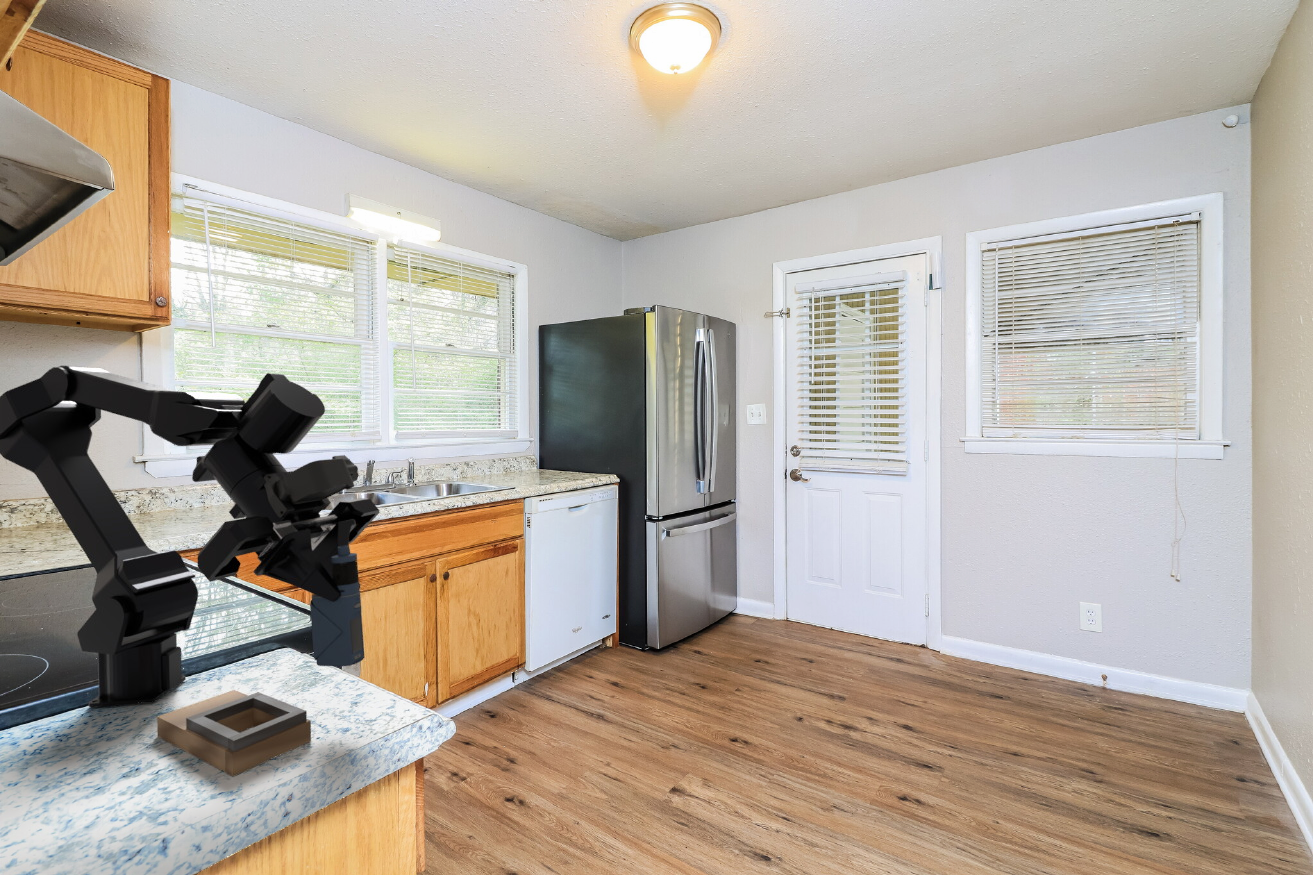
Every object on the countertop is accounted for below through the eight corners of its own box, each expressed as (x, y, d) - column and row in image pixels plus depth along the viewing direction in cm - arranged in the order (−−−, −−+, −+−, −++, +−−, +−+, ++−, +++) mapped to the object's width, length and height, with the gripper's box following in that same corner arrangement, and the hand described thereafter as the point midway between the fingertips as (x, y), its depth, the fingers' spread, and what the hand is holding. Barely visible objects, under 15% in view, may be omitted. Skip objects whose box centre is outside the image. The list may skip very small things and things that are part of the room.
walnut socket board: (157, 736, 62) (156, 706, 61) (234, 707, 68) (233, 680, 68) (232, 776, 55) (232, 742, 54) (311, 740, 61) (310, 710, 61)
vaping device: (353, 667, 63) (345, 548, 62) (309, 666, 64) (300, 549, 64) (370, 657, 65) (362, 543, 65) (327, 657, 66) (319, 544, 66)
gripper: (220, 433, 56) (325, 563, 53) (365, 429, 74) (448, 527, 72) (153, 516, 58) (251, 645, 56) (310, 493, 76) (388, 590, 74)
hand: (347, 594), depth 64 cm, fingers closed on vaping device, 2 cm apart
